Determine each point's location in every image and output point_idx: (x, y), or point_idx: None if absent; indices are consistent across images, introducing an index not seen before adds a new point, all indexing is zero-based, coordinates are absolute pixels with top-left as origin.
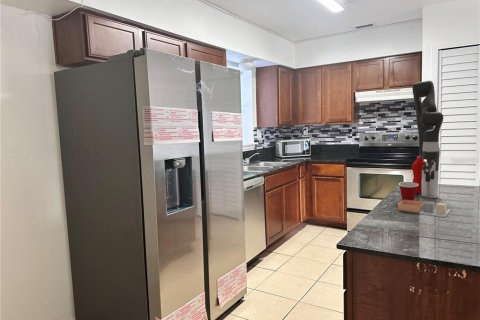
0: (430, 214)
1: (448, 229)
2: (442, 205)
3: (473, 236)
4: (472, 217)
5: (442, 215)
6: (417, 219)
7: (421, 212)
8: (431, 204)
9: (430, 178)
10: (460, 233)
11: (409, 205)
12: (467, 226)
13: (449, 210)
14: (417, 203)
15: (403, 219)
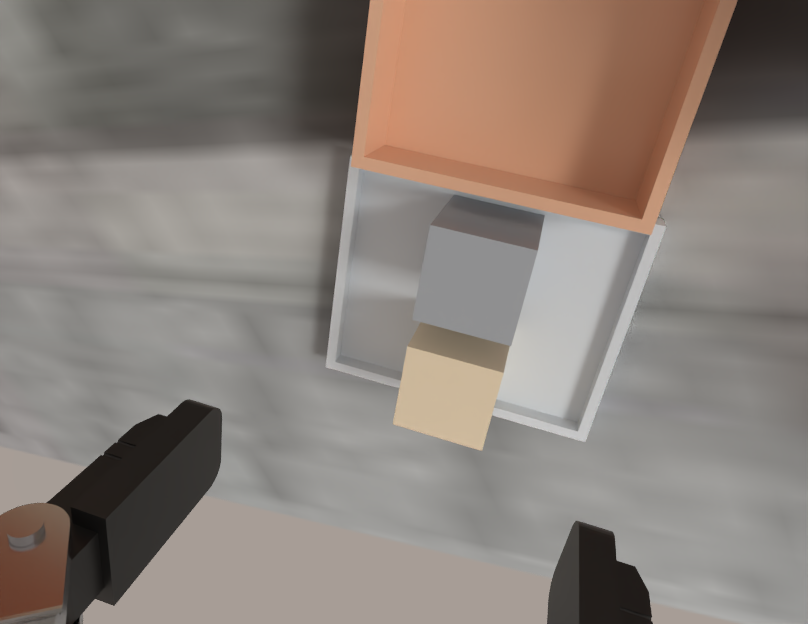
0: (341, 256)
1: (56, 345)
2: (398, 402)
3: (20, 444)
4: (447, 538)
5: (327, 351)
6: (170, 139)
7: (348, 175)
8: (417, 302)
9: (176, 528)
10: (26, 395)
11: (367, 33)
12: None
13: (546, 430)
14: (670, 121)
15: (96, 7)
